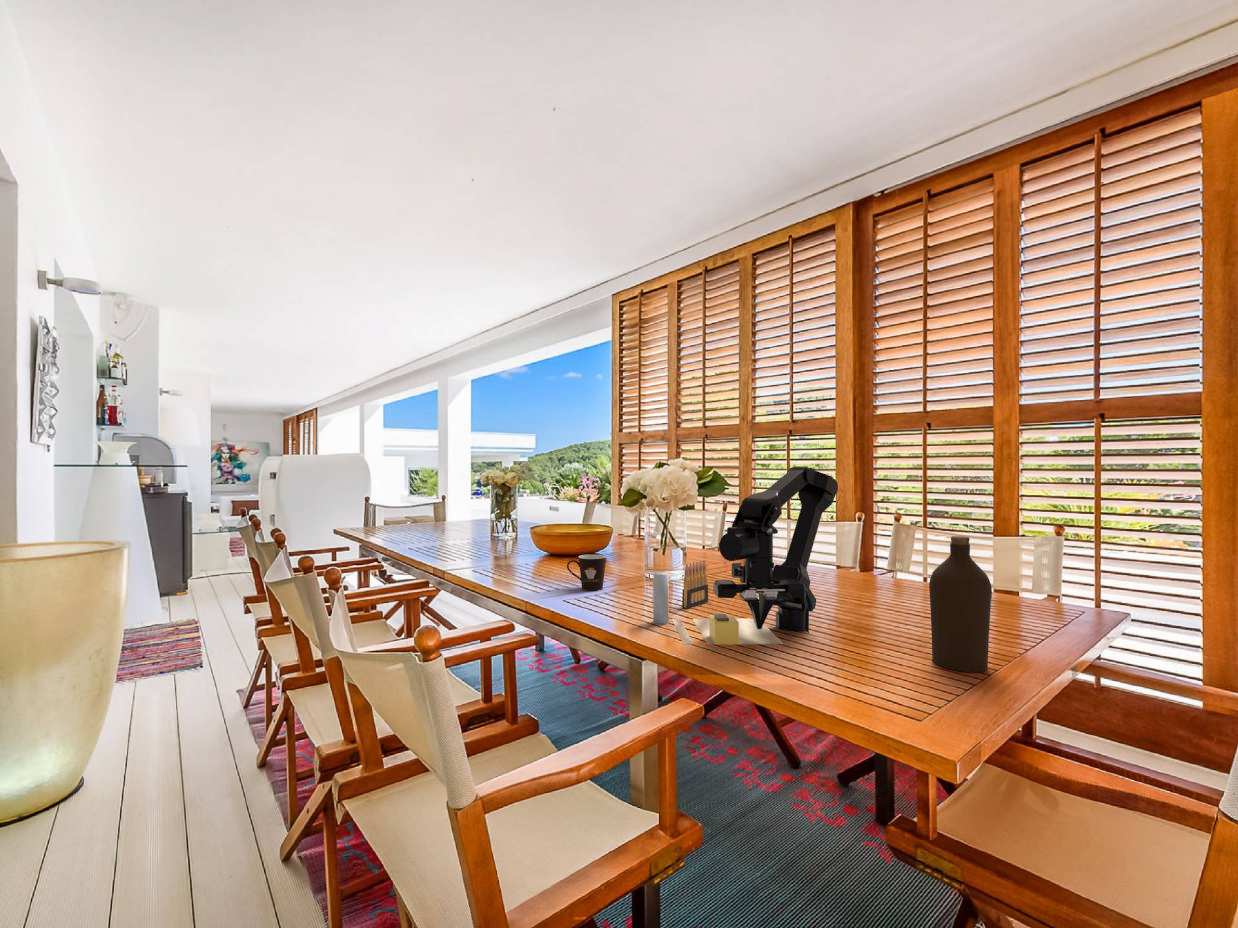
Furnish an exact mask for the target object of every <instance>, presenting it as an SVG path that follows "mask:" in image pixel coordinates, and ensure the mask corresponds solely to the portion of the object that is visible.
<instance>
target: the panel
mask: <svg viewBox="0 0 1238 928" xmlns="http://www.w3.org/2000/svg"><path fill="white" fill-rule="evenodd" d="M671 619H672V622H673V624H674V626H675V629H676V631H677V634H678V636H679V637H680V640H681V642H682V645H689V646H691V645H694V643H693V641H692V639H691V637H690V635H689V633H688V631H687V629H686V628H685V625H684V624H683V621H682V619H681V618H671ZM735 619H736V620H737V621H738V622H739V644H738V645H784V642H783V641H782V640H781V639H779V637H777V635H775V633H773V631H771V630H770V629H769V628H768V627H767V626H766V625H765V623H764V624H763V626H762V629H757V628H756V625H755V622H754V619H753V617H752V618H735ZM692 620H693V622H694V625H695V626H696V627H697V629H698V631H699V633H700V634H701V636H702V637H703V639H704V641H705V642H706V644H707V645H715V644H714V642H713V641H712V639H711V637H710V636H709V622H710V618H692Z"/></svg>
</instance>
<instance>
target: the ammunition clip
mask: <svg viewBox="0 0 1238 928" xmlns="http://www.w3.org/2000/svg"><path fill="white" fill-rule="evenodd" d="M681 597H682V601H681V602H682V603H681V604H682V605H681V607H682V609H685V608H686V609H685V610H690V609H693V608H695V607H698V605H699V606H701V605H704V604H707V603H709V584H708V574H707V562H706V559H703V561H702V560H700V561H696V563H695V562H693V563H691V562H690V563H689V565H688V563H686V565H685V567H684V578H683V588H682V596H681ZM692 607H693V608H692Z"/></svg>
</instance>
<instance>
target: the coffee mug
mask: <svg viewBox="0 0 1238 928" xmlns="http://www.w3.org/2000/svg"><path fill="white" fill-rule="evenodd" d="M606 562H607V556H606V555H603V554H582V555H579V556H578V561H577V560H575V559H572V560H569V561H567V565H566V569H567V570H568V572H569V573H570V574H571V575H573V576H574V577H576V578H577V579H578V580H579V581H580V582H581V589H583V590H582V591H585V590H587V591H586V592H597V591H598V590H599V591H602V590H603V588H604V579H605V570H606ZM571 563H576V564H577V566H578V567H579V572H580V573H579V574H580V576H579V575H577V574H576V573H575V572H573V571H572V570H571V569H570V564H571ZM599 591H598V592H599Z"/></svg>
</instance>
